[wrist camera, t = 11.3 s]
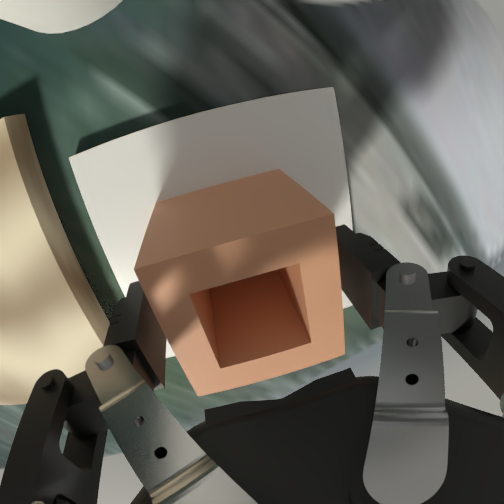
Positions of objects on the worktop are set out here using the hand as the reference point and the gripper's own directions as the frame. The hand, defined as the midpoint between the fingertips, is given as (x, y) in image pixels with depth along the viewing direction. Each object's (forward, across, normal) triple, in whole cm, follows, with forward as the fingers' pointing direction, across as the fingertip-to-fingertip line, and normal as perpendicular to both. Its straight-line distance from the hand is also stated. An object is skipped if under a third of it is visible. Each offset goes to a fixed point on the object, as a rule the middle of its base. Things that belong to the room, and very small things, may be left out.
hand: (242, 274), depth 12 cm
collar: (+3, 0, 0) cm, 3 cm away
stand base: (+4, +16, -1) cm, 17 cm away
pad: (+4, 0, 0) cm, 4 cm away
